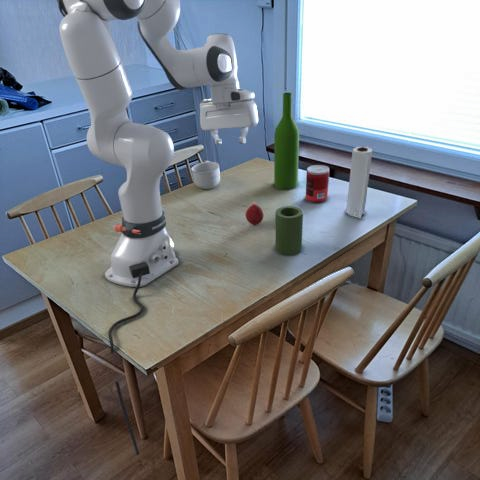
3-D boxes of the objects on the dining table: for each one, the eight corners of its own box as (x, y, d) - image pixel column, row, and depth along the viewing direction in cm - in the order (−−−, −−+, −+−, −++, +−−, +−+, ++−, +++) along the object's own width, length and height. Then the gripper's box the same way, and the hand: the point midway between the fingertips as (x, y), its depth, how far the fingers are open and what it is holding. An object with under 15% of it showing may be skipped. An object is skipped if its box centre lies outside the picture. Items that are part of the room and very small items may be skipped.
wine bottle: (302, 184, 178) (305, 92, 158) (287, 191, 173) (289, 97, 153) (284, 178, 183) (285, 89, 163) (269, 186, 178) (269, 94, 158)
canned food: (330, 196, 168) (333, 166, 161) (321, 204, 163) (323, 174, 156) (311, 192, 172) (313, 163, 165) (301, 200, 166) (303, 170, 160)
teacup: (217, 192, 176) (215, 171, 171) (189, 191, 178) (187, 170, 173) (225, 178, 187) (224, 158, 182) (199, 177, 189) (197, 158, 184)
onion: (267, 224, 153) (267, 201, 148) (255, 231, 150) (255, 208, 145) (254, 219, 156) (253, 197, 151) (242, 226, 153) (241, 203, 148)
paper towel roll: (348, 207, 160) (355, 145, 147) (366, 210, 158) (374, 146, 145) (343, 216, 155) (349, 152, 142) (361, 219, 153) (369, 154, 140)
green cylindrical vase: (296, 257, 136) (297, 219, 128) (271, 252, 139) (271, 215, 131) (305, 245, 141) (307, 208, 134) (281, 240, 144) (281, 204, 137)
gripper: (193, 100, 145) (199, 146, 151) (247, 93, 134) (251, 143, 140) (205, 99, 150) (210, 144, 155) (258, 92, 138) (262, 141, 144)
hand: (230, 144), depth 147 cm, fingers open, 8 cm apart
